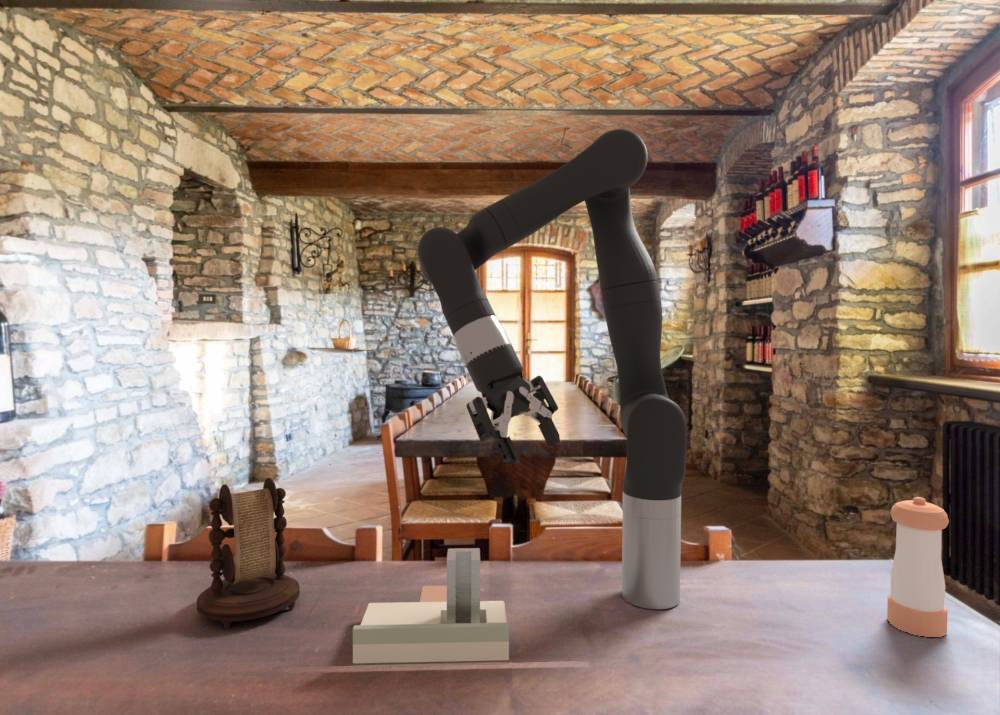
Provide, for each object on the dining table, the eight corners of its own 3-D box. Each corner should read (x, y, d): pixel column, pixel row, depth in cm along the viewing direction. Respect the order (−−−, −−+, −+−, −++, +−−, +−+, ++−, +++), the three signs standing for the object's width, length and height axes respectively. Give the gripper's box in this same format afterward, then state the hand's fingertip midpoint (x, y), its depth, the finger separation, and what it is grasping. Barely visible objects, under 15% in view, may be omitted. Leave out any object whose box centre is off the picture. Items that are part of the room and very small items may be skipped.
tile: (422, 589, 100) (422, 585, 100) (470, 588, 100) (470, 585, 100) (418, 611, 92) (418, 607, 92) (470, 610, 92) (470, 606, 92)
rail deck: (369, 622, 88) (369, 589, 88) (503, 620, 89) (504, 587, 89) (352, 667, 76) (352, 629, 76) (508, 664, 77) (509, 626, 77)
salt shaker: (939, 620, 89) (943, 494, 89) (953, 642, 83) (956, 506, 82) (883, 611, 92) (885, 489, 92) (891, 631, 86) (894, 500, 85)
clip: (447, 631, 85) (448, 548, 84) (479, 631, 85) (479, 548, 85) (446, 648, 80) (446, 560, 80) (479, 647, 80) (480, 559, 80)
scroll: (213, 642, 82) (211, 499, 82) (185, 606, 93) (183, 479, 93) (315, 610, 92) (314, 482, 91) (279, 581, 103) (278, 466, 102)
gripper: (464, 353, 80) (516, 463, 77) (535, 333, 90) (583, 431, 87) (437, 374, 86) (485, 478, 83) (507, 353, 95) (551, 446, 92)
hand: (535, 453), depth 85 cm, fingers open, 8 cm apart
